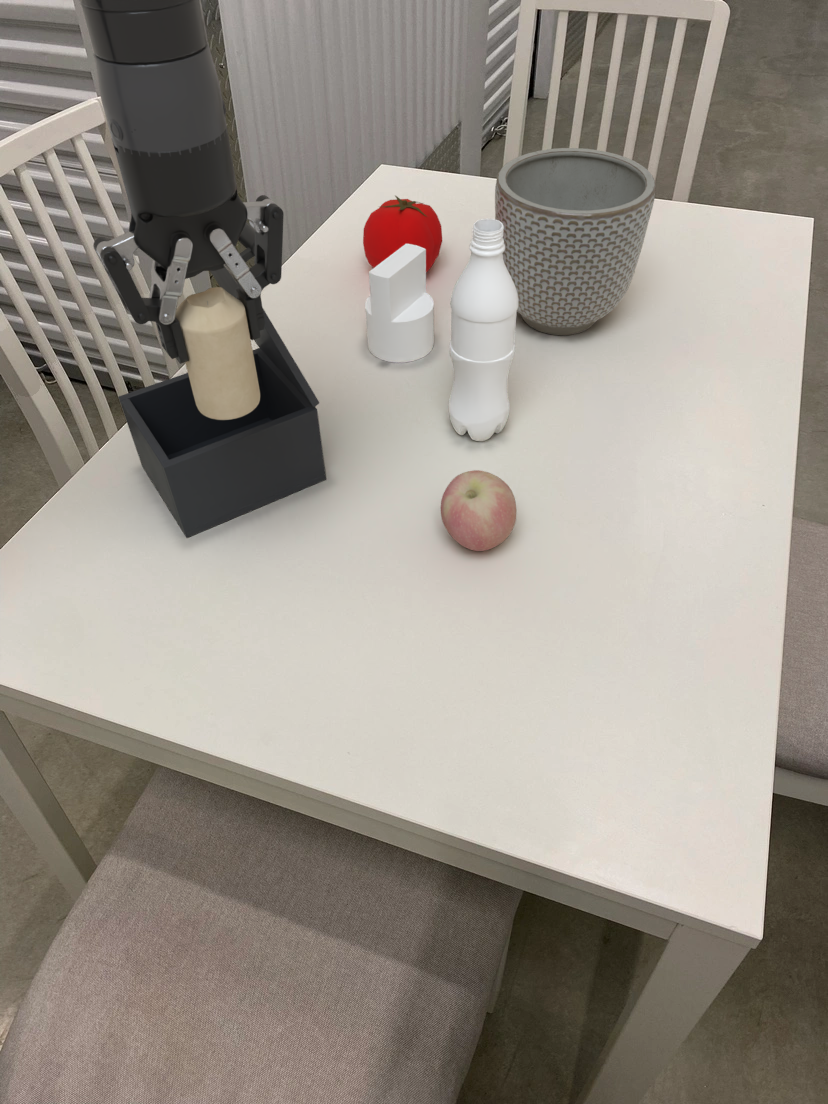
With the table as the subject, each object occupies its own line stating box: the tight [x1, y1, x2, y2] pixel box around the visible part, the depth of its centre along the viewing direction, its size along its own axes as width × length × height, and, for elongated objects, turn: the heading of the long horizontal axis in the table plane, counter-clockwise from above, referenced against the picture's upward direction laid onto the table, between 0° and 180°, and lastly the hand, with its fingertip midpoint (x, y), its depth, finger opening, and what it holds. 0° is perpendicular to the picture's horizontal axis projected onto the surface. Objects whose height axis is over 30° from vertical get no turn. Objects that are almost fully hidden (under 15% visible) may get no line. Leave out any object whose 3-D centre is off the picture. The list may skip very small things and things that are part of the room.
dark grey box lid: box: [209, 221, 320, 407], centre depth 82 cm, size 18×14×5 cm
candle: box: [175, 286, 260, 420], centre depth 67 cm, size 6×6×10 cm
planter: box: [494, 147, 656, 336], centre depth 108 cm, size 20×20×19 cm
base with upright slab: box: [364, 244, 435, 364], centre depth 106 cm, size 9×9×12 cm
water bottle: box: [448, 218, 518, 442], centre depth 89 cm, size 7×7×25 cm
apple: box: [440, 469, 517, 552], centre depth 83 cm, size 8×8×8 cm
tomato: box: [362, 195, 443, 273], centre depth 120 cm, size 12×12×11 cm
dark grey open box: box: [117, 347, 327, 539], centre depth 90 cm, size 17×14×10 cm
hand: (216, 345), depth 66 cm, fingers closed on candle, 5 cm apart
